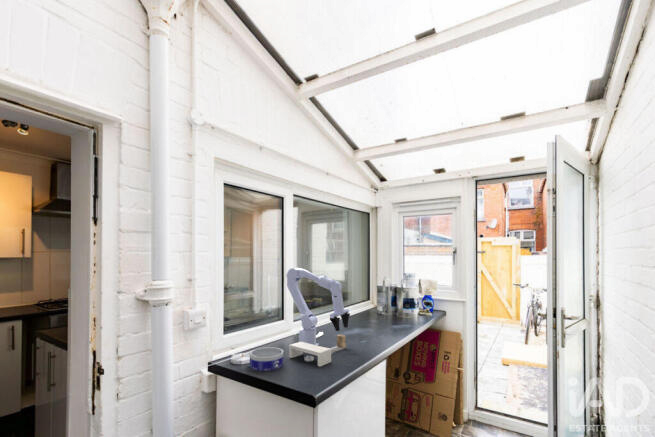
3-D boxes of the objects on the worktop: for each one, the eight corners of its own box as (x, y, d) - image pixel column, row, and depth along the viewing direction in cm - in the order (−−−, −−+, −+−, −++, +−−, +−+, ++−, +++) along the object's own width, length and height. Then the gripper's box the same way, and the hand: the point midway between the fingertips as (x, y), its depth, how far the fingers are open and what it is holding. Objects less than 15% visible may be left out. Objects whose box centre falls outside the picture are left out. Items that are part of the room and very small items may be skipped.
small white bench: (289, 357, 159) (289, 344, 159) (300, 353, 165) (300, 341, 166) (320, 366, 146) (320, 352, 147) (331, 362, 152) (331, 348, 153)
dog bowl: (268, 373, 138) (269, 359, 139) (242, 367, 145) (242, 353, 146) (289, 363, 151) (290, 349, 152) (264, 358, 159) (264, 345, 159)
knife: (320, 328, 218) (331, 329, 215) (320, 331, 217) (331, 332, 214) (299, 337, 190) (311, 339, 187) (299, 340, 190) (311, 341, 187)
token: (302, 360, 155) (302, 357, 155) (308, 358, 158) (308, 355, 158) (309, 362, 152) (309, 359, 152) (315, 360, 155) (315, 357, 156)
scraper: (313, 355, 162) (313, 342, 162) (338, 346, 178) (338, 334, 178) (321, 357, 158) (321, 344, 159) (346, 348, 175) (346, 335, 175)
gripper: (335, 305, 169) (339, 332, 167) (351, 301, 181) (355, 325, 179) (325, 306, 174) (329, 332, 172) (341, 301, 185) (345, 325, 183)
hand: (341, 329), depth 175 cm, fingers open, 7 cm apart
